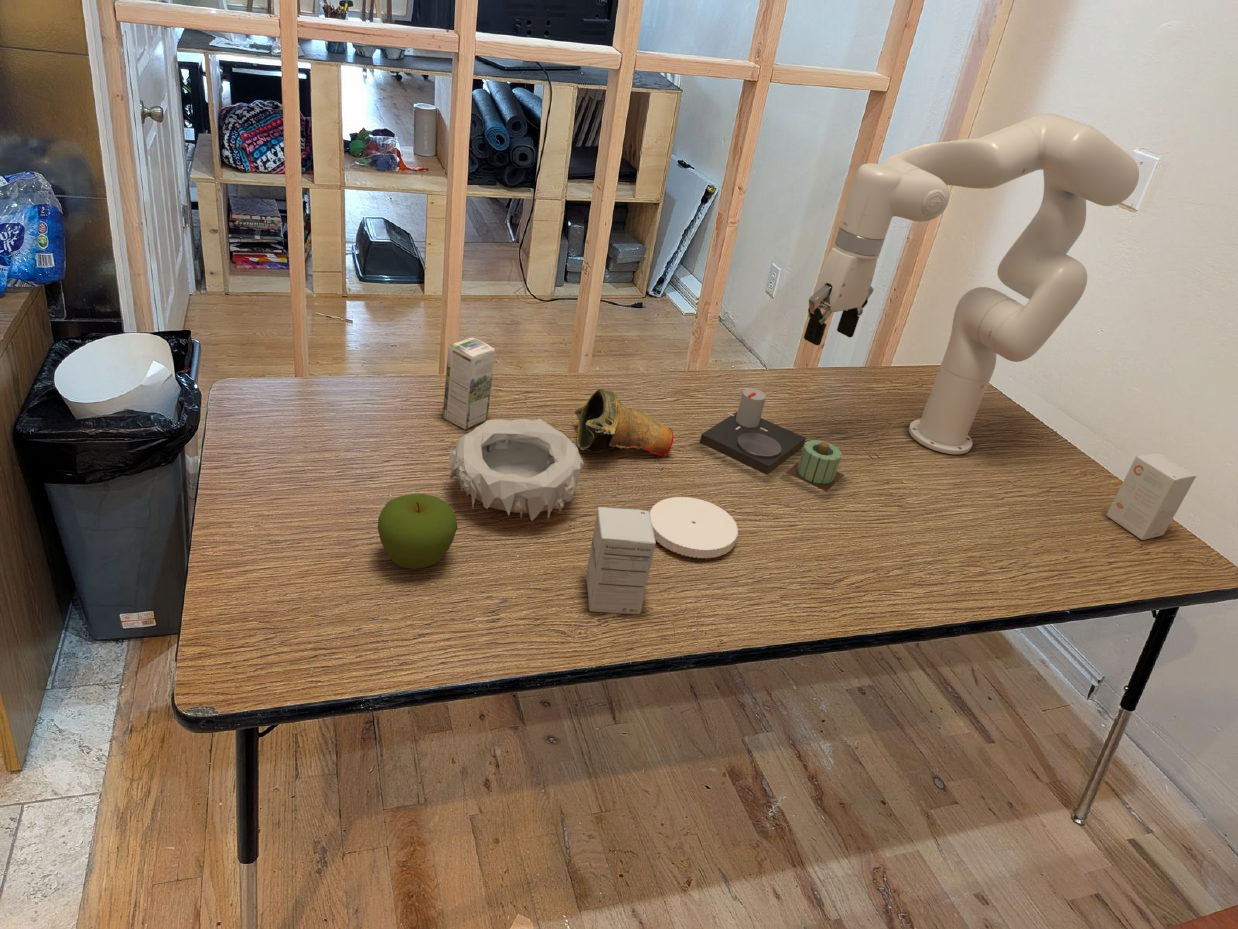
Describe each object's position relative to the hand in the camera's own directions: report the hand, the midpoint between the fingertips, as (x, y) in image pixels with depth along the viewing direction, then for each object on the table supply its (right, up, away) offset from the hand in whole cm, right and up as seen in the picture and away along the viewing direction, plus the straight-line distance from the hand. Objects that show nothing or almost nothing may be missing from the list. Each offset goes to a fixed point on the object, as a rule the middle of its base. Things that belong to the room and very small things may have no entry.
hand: (828, 338), depth 160 cm
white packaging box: (-37, -40, -32) cm, 63 cm away
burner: (-11, -19, +5) cm, 23 cm away
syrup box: (-63, -14, +3) cm, 65 cm away
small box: (+58, -33, +9) cm, 67 cm away
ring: (-1, -24, +4) cm, 24 cm away
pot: (-38, -19, +2) cm, 43 cm away
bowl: (-53, -27, -15) cm, 61 cm away
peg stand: (-2, -25, +5) cm, 25 cm away
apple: (-65, -35, -32) cm, 80 cm away
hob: (-12, -19, +10) cm, 25 cm away
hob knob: (-12, -14, +13) cm, 23 cm away
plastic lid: (-25, -33, -16) cm, 45 cm away
